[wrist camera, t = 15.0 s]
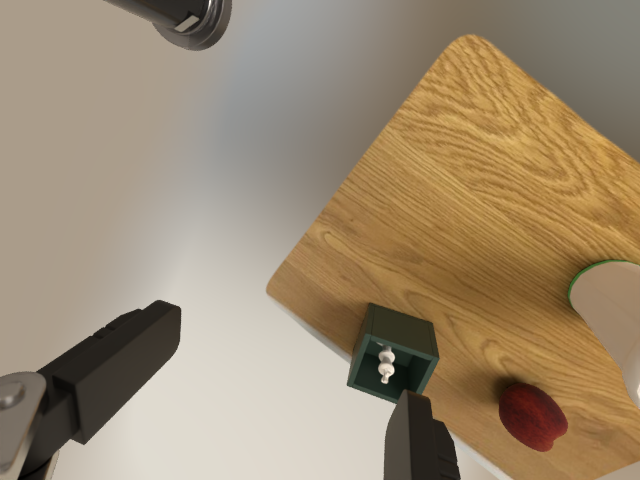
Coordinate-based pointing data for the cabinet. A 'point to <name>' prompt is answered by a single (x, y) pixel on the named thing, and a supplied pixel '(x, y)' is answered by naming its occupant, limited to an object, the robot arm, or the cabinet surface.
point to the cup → (613, 313)
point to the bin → (407, 346)
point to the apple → (531, 416)
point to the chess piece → (386, 363)
